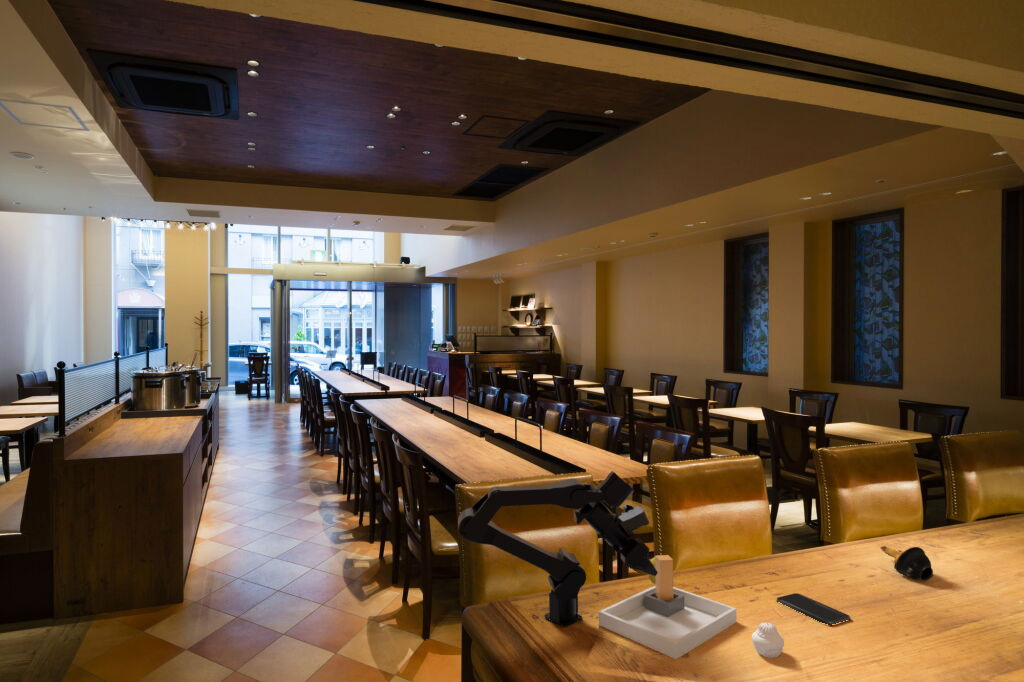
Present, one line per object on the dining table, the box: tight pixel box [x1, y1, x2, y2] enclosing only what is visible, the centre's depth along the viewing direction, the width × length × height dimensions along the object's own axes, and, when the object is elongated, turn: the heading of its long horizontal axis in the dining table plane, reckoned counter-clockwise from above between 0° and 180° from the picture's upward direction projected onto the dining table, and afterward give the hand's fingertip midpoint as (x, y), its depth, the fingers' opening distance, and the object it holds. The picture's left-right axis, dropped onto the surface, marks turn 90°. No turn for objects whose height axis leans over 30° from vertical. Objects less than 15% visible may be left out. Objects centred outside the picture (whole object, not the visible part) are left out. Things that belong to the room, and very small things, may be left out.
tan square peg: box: [654, 554, 674, 602], centre depth 143 cm, size 3×3×12 cm
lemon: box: [647, 556, 655, 585], centre depth 158 cm, size 6×6×8 cm
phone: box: [776, 593, 851, 625], centre depth 144 cm, size 8×1×15 cm
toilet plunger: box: [879, 545, 934, 582], centre depth 167 cm, size 9×11×18 cm
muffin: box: [751, 622, 785, 659], centre depth 122 cm, size 6×6×7 cm
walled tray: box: [598, 585, 738, 660], centre depth 135 cm, size 24×20×4 cm
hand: (649, 567), depth 143 cm, fingers open, 9 cm apart
